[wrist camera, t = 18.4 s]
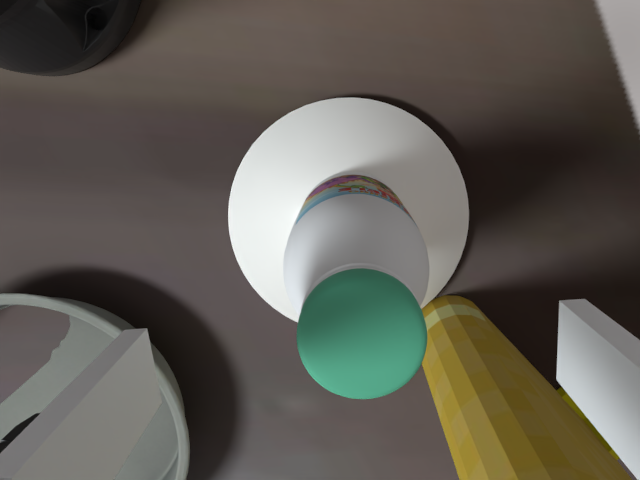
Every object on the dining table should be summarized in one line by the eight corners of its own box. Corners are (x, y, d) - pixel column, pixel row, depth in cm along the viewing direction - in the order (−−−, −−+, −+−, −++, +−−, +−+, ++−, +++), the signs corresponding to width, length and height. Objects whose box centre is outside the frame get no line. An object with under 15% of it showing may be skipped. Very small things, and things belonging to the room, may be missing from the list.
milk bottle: (383, 283, 37) (429, 467, 17) (287, 253, 36) (225, 406, 17) (418, 188, 35) (513, 276, 15) (317, 156, 35) (286, 204, 15)
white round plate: (215, 110, 35) (212, 110, 34) (463, 86, 34) (467, 85, 33) (246, 334, 39) (244, 340, 38) (467, 320, 38) (470, 325, 37)
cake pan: (205, 287, 39) (188, 309, 34) (203, 532, 45) (188, 577, 41) (-88, 264, 39) (-141, 282, 35) (-51, 508, 46) (-92, 550, 41)
